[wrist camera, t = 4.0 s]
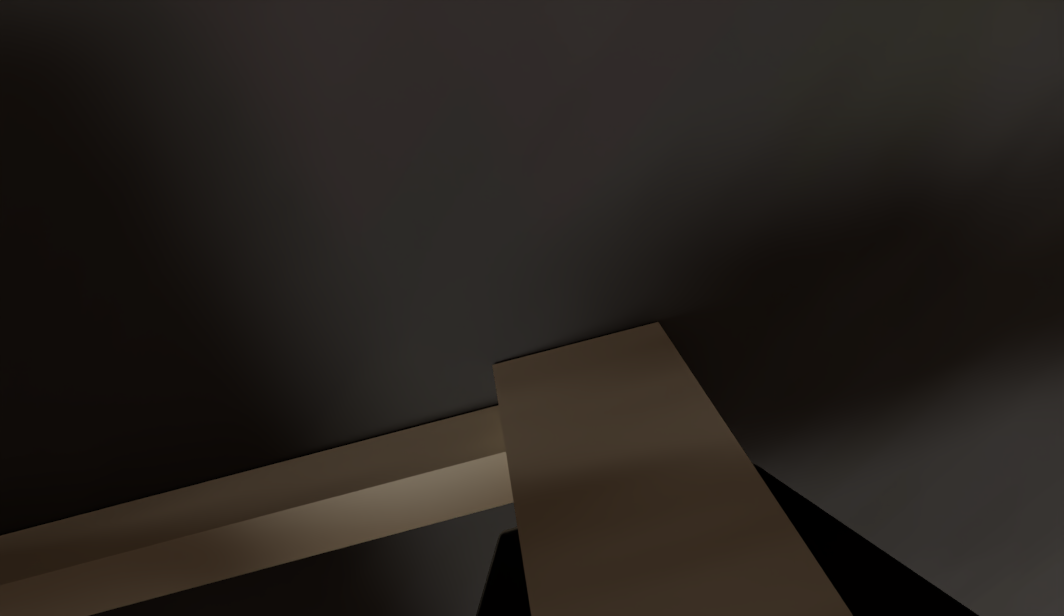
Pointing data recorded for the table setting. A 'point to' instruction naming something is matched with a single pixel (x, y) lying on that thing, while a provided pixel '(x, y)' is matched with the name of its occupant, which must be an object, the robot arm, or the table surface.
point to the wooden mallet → (479, 503)
